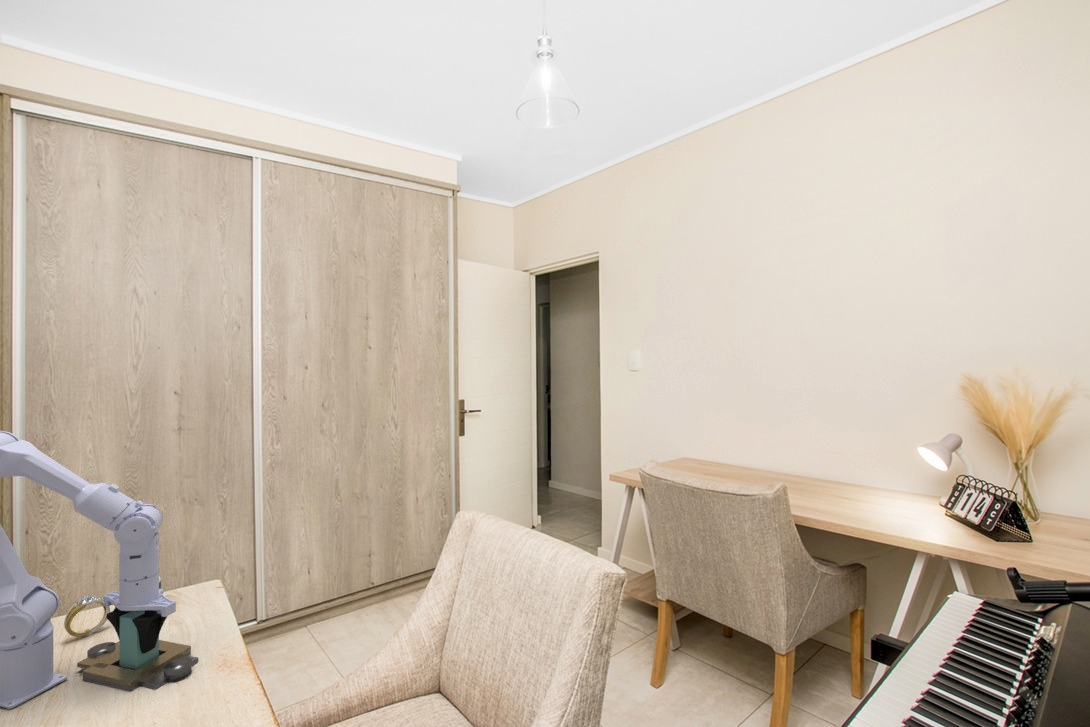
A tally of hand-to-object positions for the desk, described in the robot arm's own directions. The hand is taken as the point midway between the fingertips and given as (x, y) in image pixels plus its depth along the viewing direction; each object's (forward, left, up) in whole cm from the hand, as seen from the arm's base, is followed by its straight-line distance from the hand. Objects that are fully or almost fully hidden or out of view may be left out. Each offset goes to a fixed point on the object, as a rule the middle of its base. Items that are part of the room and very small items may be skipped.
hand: (139, 648), depth 92 cm
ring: (-20, +5, -4) cm, 21 cm away
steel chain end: (+3, 0, -3) cm, 4 cm away
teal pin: (0, 0, -2) cm, 3 cm away
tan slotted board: (-3, 0, -3) cm, 4 cm away
